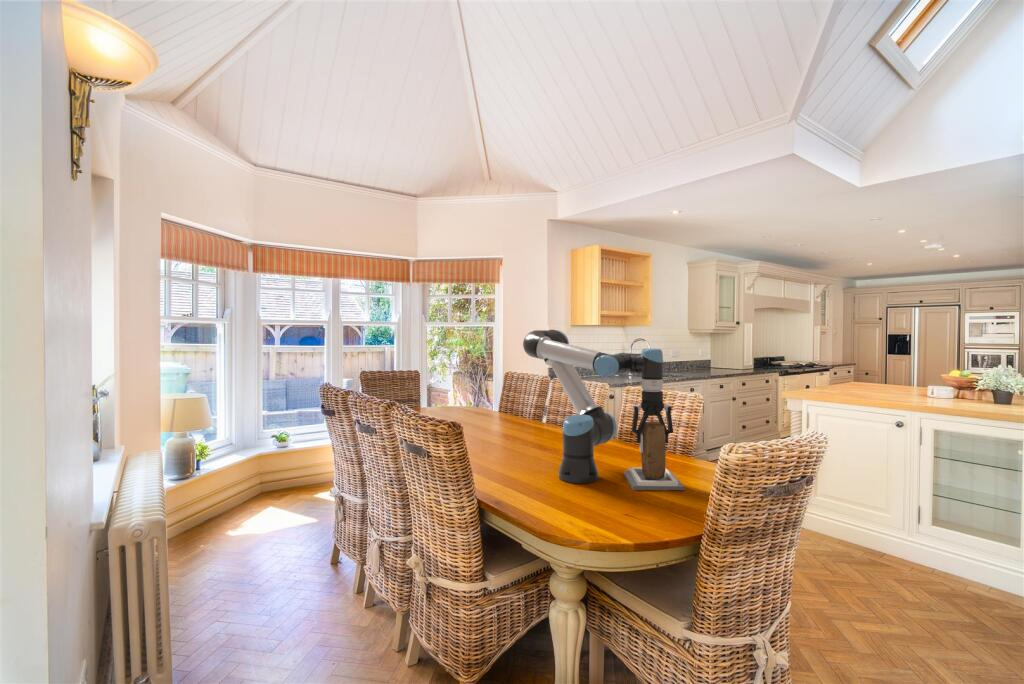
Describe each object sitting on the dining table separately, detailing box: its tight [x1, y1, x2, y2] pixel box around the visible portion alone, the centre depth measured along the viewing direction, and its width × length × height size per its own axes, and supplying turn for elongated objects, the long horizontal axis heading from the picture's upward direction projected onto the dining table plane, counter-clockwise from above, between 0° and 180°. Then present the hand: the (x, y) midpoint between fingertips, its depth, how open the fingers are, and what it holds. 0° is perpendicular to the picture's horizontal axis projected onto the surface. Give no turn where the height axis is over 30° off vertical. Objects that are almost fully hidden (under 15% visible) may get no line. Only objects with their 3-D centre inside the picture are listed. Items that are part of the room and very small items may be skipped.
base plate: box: [623, 466, 686, 491], centre depth 175 cm, size 18×18×3 cm
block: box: [640, 420, 667, 479], centre depth 174 cm, size 11×8×20 cm
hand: (652, 451), depth 174 cm, fingers closed on block, 7 cm apart
